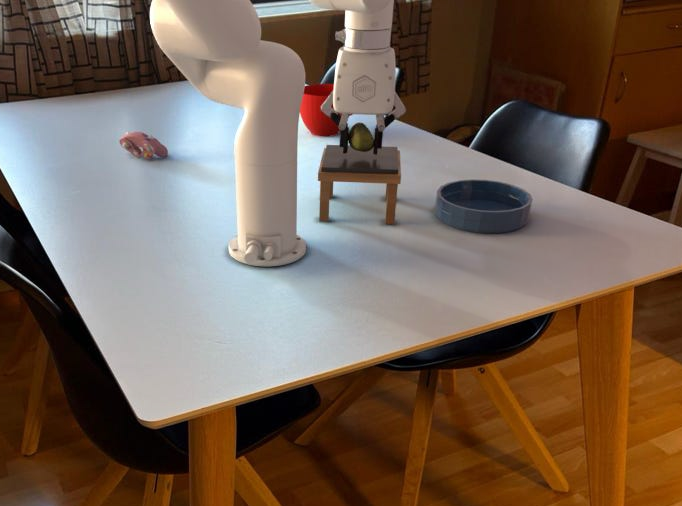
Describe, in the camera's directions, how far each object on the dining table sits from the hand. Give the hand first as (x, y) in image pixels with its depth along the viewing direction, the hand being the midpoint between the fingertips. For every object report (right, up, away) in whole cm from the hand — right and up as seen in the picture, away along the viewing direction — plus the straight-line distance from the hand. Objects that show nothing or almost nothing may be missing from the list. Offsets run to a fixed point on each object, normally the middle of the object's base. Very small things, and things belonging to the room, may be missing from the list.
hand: (360, 150), depth 126 cm
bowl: (+22, -11, +3) cm, 25 cm away
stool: (0, -9, +6) cm, 11 cm away
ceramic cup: (-1, +19, +49) cm, 52 cm away
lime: (0, 0, 0) cm, 0 cm away
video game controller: (-44, +8, +33) cm, 56 cm away
